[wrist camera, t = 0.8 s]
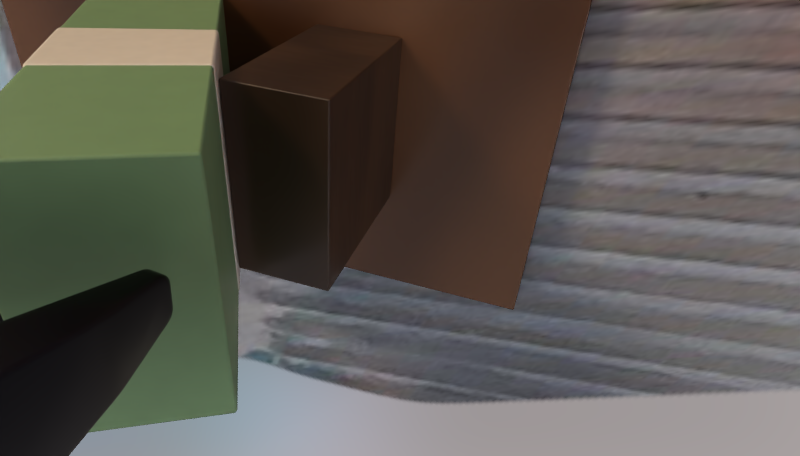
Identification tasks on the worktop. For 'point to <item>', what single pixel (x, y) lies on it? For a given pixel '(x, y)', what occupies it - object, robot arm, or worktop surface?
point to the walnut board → (442, 123)
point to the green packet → (128, 189)
